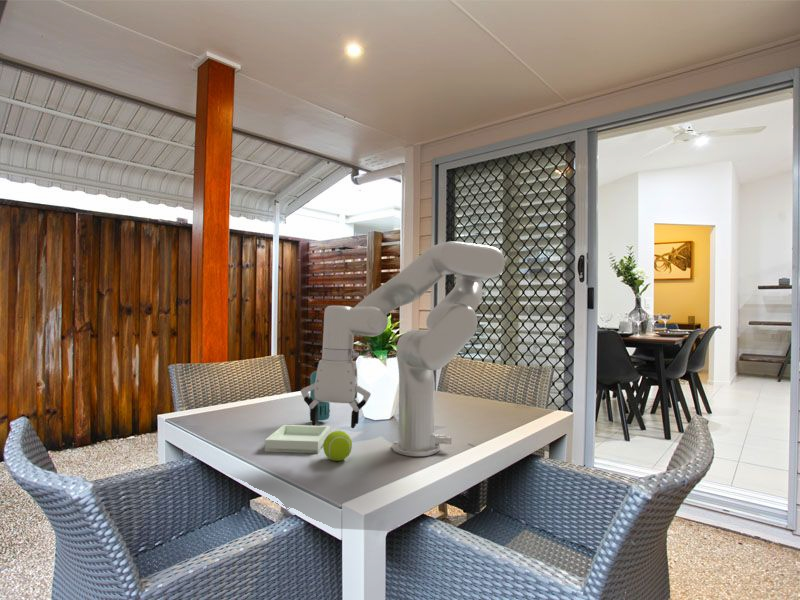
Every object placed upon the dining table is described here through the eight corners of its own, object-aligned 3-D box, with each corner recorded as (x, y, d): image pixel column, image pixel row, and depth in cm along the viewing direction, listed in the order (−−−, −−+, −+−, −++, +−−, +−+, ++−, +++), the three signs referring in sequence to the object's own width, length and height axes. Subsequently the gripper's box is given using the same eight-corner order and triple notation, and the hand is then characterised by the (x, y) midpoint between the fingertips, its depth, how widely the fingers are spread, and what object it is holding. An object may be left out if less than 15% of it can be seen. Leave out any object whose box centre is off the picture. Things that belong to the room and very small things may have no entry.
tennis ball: (321, 456, 108) (321, 428, 108) (348, 453, 110) (348, 426, 110) (325, 466, 101) (326, 436, 101) (354, 463, 103) (355, 434, 104)
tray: (330, 436, 124) (330, 426, 124) (317, 453, 110) (318, 441, 110) (283, 435, 125) (283, 424, 125) (264, 451, 111) (265, 439, 111)
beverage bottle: (318, 426, 134) (319, 362, 134) (304, 423, 138) (305, 360, 138) (334, 422, 139) (334, 360, 139) (320, 418, 143) (320, 358, 143)
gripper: (374, 356, 109) (371, 423, 108) (307, 352, 110) (304, 419, 110) (370, 359, 101) (366, 432, 101) (298, 355, 103) (294, 427, 102)
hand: (334, 425), depth 105 cm, fingers open, 9 cm apart
